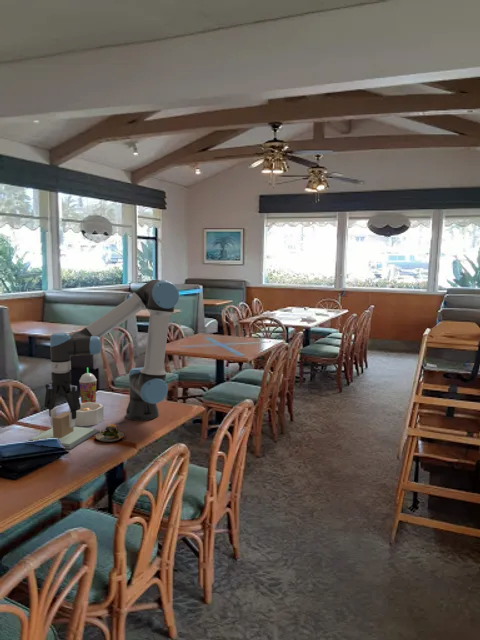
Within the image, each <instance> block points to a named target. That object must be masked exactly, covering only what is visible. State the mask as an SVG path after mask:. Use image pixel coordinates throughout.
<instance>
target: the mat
mask: <svg viewBox="0 0 480 640" xmlns="http://www.w3.org/2000/svg"><path fill="white" fill-rule="evenodd" d="M100 432H101V430H99V429H95V431H94V432H93V433H91V434H89V435H88V436H86V437H84V438H83V439H81V440H80V441H78V442H76V443H75V444H73V445H71V446H64V447H65V449H64V450H70V451H71V450H73V449H74V448H76V447H78V446H79V445H81V444H83V443H84V442H86V441H87V440H89V439H90V438H92V437H94V436H96V435H97V434H99V433H100ZM27 441H30V439H28V440H27Z"/></svg>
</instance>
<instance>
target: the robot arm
mask: <svg viewBox="0 0 480 640" xmlns="http://www.w3.org/2000/svg"><path fill="white" fill-rule="evenodd" d="M179 300H180V292H179V290H178V287H177V286H176V285H175V284H174V283H173V282H170V281H169V280H162V279H152V280H150V281H148V282H147V283H145V284H143V285H142V286H140V287H139V288H138V289H137V290H135V291H134V292H132V295H131V296H129V297H128V298H127V299H126V300H124V301H123V302H121V303H120V304H118V305H116V306H115V307H114V308H112V309H110V310H109V311H107V312H106V313H104V315H102V316H100V317H99V318H97V319H96V320H94V321H92V322H91V323H90V324H88V325H87V326H86V327H84V328H82V329H80V330H79V331H75V332H73V333H72V334H71V335H70V333H68V332H56V333H52V334H51V335H50V338H49V339H50V340H49V341H50V343H49V347H50V348H49V349H50V367H51V368H50V371H51V373H50V375H51V383H47V384H45V389H46V390H45V398H44V408H45V409H48V415H49V417H50V426H52V427H53V417H55V416H57V408H56V403H57V401H58V398H59V395H63V397H64V398H65V400H66V403H67V404H68V408H69V407H70V410H71V411H70V412H69V411H68V412H69V423H70V428H71V427H76V425H75V419H76V411H77V410H79V409H81V406H80V403H81V400H80V397H79V391H78V390H79V386H78V385H72V371H71V370H72V361H71V357H75V356H78V357H79V356H93V355H98V354H100V352H101V351H102V343H101V338H102V337H104V336H106V335H107V334H108V333H110V332H111V331H112V330H114V329H116V328H117V327H119V326H120V325H121V324H123V323H125V322H126V321H127V320H129V319H130V318H132V317H133V316H134V315H136V314H137V313H140V311H146V310H147V311H148V312H149V319H148V320H149V323H148V329H147V338H146V347H145V353H144V354H145V355H144V364H143V367H133V368H131V369H130V370H129V371H128V372H129V374H128V381H129V382H128V385H129V386H128V387H129V401H128V405H127V408H126V411H125V417H126V419H128V420H132V421H148V420H149V421H150V420H153V419H156V418H157V417H158V416H159V414H160V413H159V407H158V403H160V402H162V401H163V400H164V399H166V397H167V395H168V392H169V387H168V383H167V382H166V379H167V378H166V377H167V372H166V371H165V369H164V367H165V357H166V351H167V344H168V343H167V342H168V341H167V340H168V333H169V324H170V316H171V315H173V314H174V312H175V306H176V305H177V304H178V302H179Z"/></svg>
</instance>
